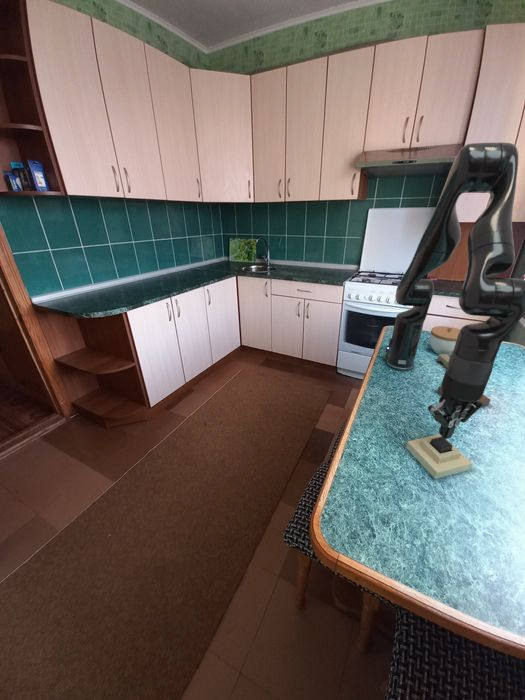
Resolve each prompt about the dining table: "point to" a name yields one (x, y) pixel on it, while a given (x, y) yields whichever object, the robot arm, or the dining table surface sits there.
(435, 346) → the lidded bowl
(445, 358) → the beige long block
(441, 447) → the key front
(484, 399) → the brown stepped square base
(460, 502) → the dining table surface
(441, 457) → the beige stepped square base
